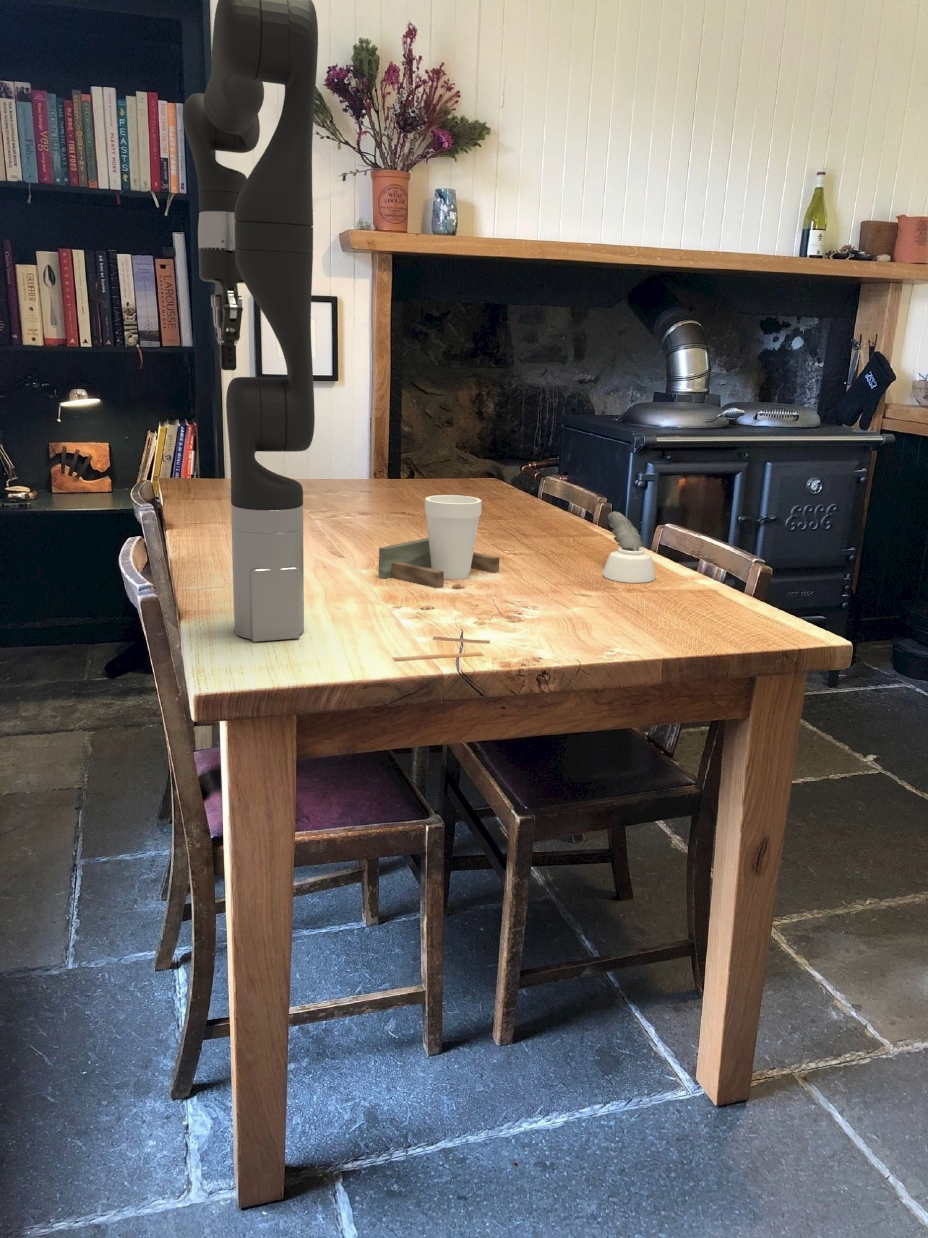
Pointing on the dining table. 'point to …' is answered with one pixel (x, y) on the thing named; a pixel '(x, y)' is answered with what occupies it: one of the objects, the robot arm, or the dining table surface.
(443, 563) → the foam cup
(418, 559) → the dock
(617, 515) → the inkwell
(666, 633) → the dining table surface
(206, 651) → the dining table surface
